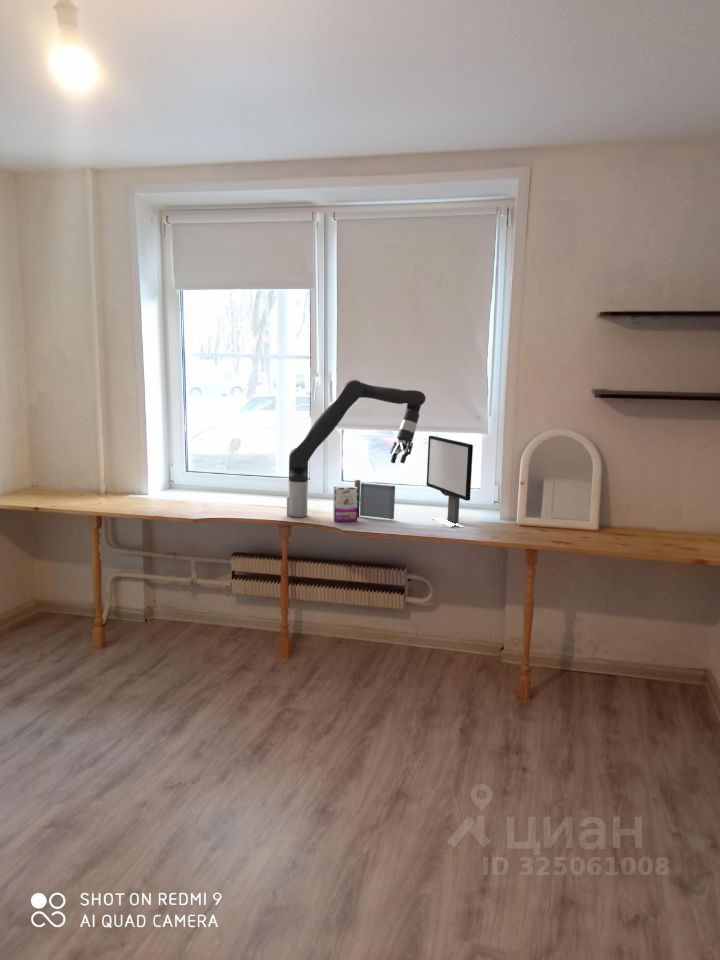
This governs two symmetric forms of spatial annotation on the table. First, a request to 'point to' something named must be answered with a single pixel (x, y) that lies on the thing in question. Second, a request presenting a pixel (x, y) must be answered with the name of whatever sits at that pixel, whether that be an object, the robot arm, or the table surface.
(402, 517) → the table surface
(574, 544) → the table surface
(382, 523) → the table surface
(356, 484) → the hinge post
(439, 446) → the computer monitor
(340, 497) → the candy bar box
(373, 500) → the gate
